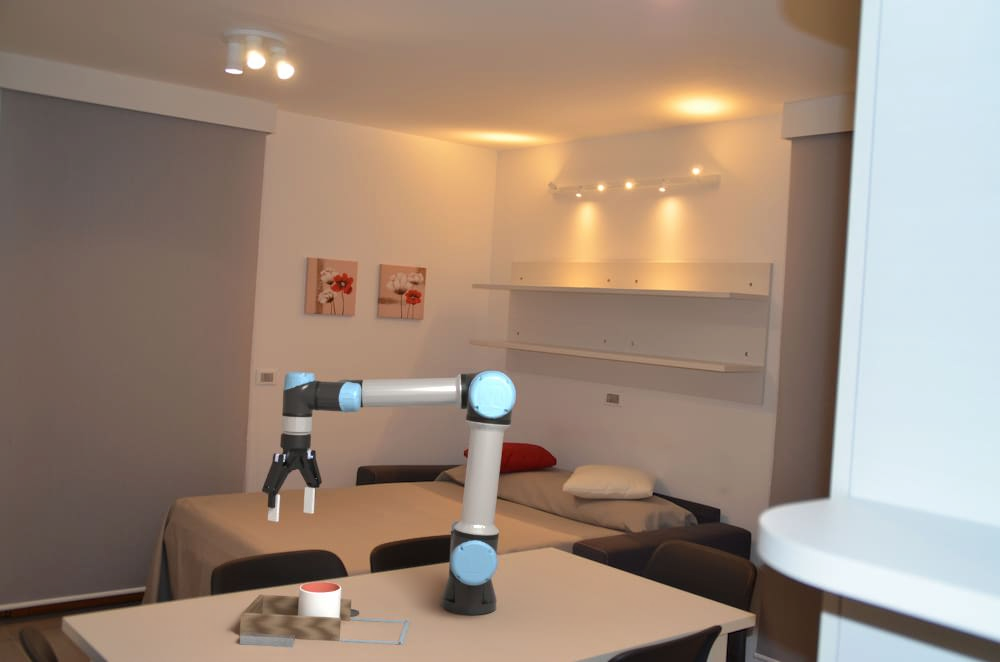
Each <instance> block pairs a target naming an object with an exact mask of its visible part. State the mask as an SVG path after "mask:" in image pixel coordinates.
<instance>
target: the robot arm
mask: <svg viewBox="0 0 1000 662" xmlns="http://www.w3.org/2000/svg"><path fill="white" fill-rule="evenodd" d="M516 393H517V391H516V387H515V384H514V383H513V381H512V380H511V378H510V377H509V376H507V375H506V374H505V373H503V372H501V371H498V370H495V369H494V370H493V369H486V370H482V371H476V372H471V373H459V374H458V375H457V376H455V377H431V378H429V377H428V378H427V377H426V378H424V377H423V378H422V377H421V378H418V377H417V378H384V379H383V378H382V379H379V378H377V379H374V378H373V379H347V378H346V379H340V380H337V381H321V380H316V378H315V373H312V372H305V371H302V372H301V371H289V372H287V373H285V375H284V382H283V389H282V395H283V396H282V412H281V415H282V416H281V428H280V429H281V430H280V431H282V432H283V433H282V432H281V434H280V444H279V445H280V449H282V452H281V453H273V455H272V463H271V465H270V467H269V470H268V473H267V475H266V478H265V481H264V483H263V486H262V488H261V492H262V493H265V494H266V495H267V508H268V513H267V521H271V522H276V523H277V522H279V517H280V502H281V501H280V500H281V495H280V494H279V492H280V490H281V489H282V487H283V485H284V483H285V481H286V479H287V477H288V476H289V474H290V473H292V472H293V471H296V470H298V471H299V473H300V474H301V477H302V478H303V480H304V482H305V483H306V487H304V496H303V497H304V498H303V513H305V514H311V515H312V514H314V513H315V512H314V511H315V499H316V493H317V492H316V490H317V488H318V489H319V488H320V486H321V485H322V482H323V481H322V480H323V479H322V476H321V473H320V469H319V465H318V461H317V452H316V451H317V450H314V449H310V448H311V445H312V444H311V442H312V435H311V434H310V433H311V432H312V429H313V428H312V427H313V412H314V411H324V412H325V411H327V412H340V413H356V412H359V411H360V409H361V408H390V407H391V408H395V407H396V408H398V407H401V408H402V407H403V408H405V407H445V406H447V407H449V406H450V407H452V406H455V407H457V408H458V409H460V410H466V416H465V417H466V418H465V422H466V423H467V424H468V425H469V428H470V433H469V442H468V443H469V444H468V452H467V460H466V471H465V478H464V479H465V480H464V488H463V489H464V490H463V499H462V507H461V515H460V520H457V521H456V520H455V521H454V522H453V523H452V524H451V530H450V546H449V547H450V548H449V565H448V569H449V570H448V578H447V582H446V583H445V587H444V589H443V592H442V594H441V596H440V597H441V598H440V607H441V608H442V609H443V610H445V611H447V612H450V613H453V614H456V615H457V614H458V615H466V616H468V615H469V616H471V615H472V616H476V615H485V614H490V613H493V612H494V611H496V609H497V595H496V592H495V589H494V583H493V579H492V578H493V576H494V575H495V574H496V570H497V568H498V564H499V562H498V561H499V560H498V545H499V534H500V530H499V529H498V527H497V526H496V525H495V518H496V517H495V516H496V507H497V498H498V489H499V479H500V471H501V462H502V452H503V444H504V436H505V435H504V434H505V431H506V430H507V429H508V428H510V427H511V424H512V416H513V415H512V414H513V406H514V405H515V403H516V399H517V397H516Z"/></svg>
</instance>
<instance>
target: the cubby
mask: <svg viewBox="0 0 1000 662" xmlns="http://www.w3.org/2000/svg"><path fill="white" fill-rule="evenodd" d="M298 605H299V596H294V595H277V594H276V595H275V594H258V596H257V597H256V598H255V599H254V600H253V601H252V602H251V603H250V604H249V605H248V606H247V607H246V608H245V610H243V612H241V614H240V622H239V623H240V625H239V626H240V627H239V636H240V635H241V634H242V633H243V632H244V631H245V630H254V633H256V634H274V635H293V636H295V640H298V639H299V640H311V641H314V640H315V641H317V640H318V641H332V642H333V641H334V642H339V641H340V640H341V637H340V636H341V625H342V622H341V621H347V622H349V621H351V617H350V616H351V609H352V599H351V598H341V601H340V618H334V617H315V616H298Z"/></svg>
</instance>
